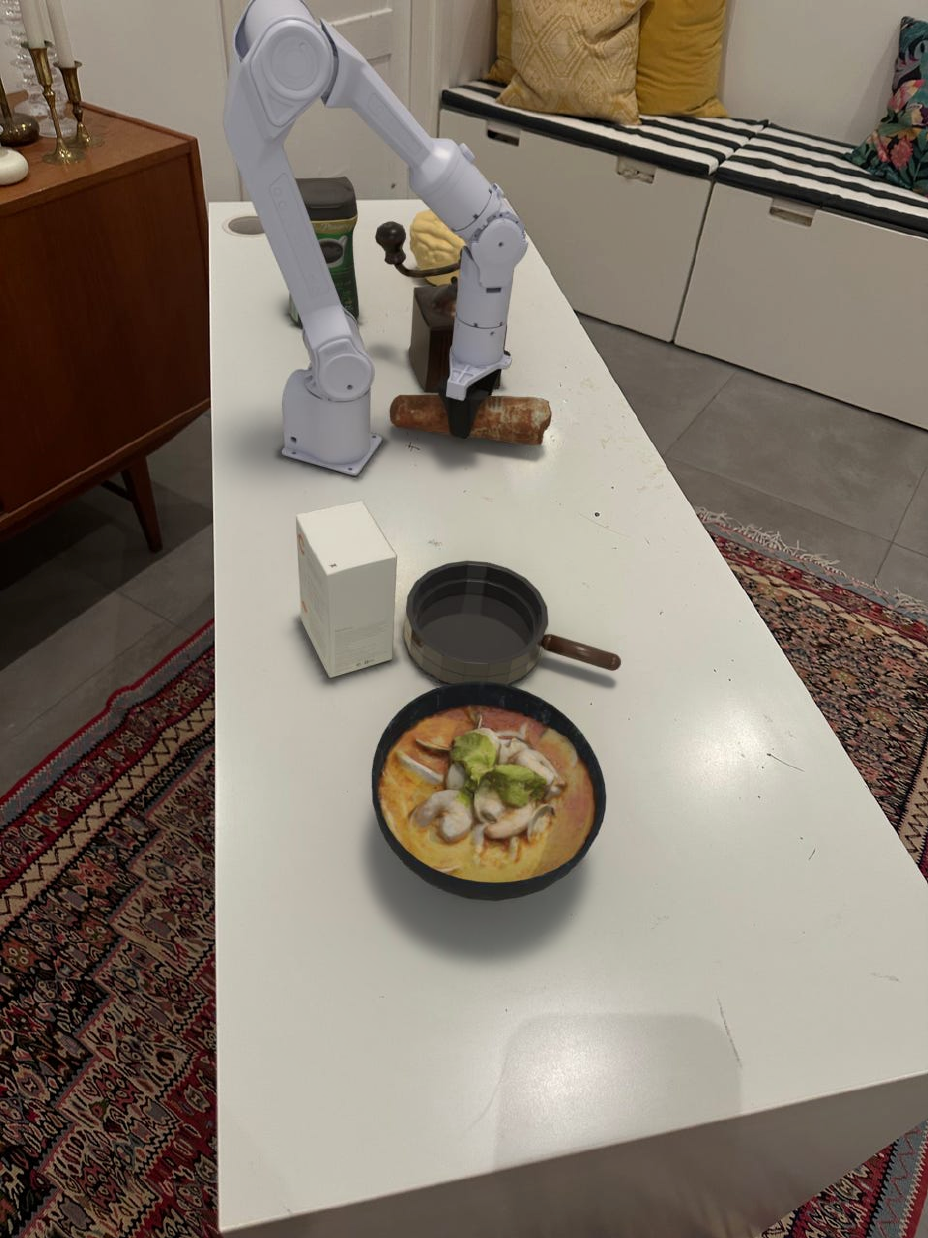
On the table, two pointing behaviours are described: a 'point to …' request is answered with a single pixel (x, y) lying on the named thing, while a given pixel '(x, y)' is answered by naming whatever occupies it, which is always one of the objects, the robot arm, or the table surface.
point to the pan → (475, 623)
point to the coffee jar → (333, 234)
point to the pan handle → (581, 652)
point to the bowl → (487, 790)
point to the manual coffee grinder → (426, 311)
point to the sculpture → (434, 246)
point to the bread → (478, 417)
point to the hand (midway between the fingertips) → (468, 421)
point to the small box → (346, 587)
